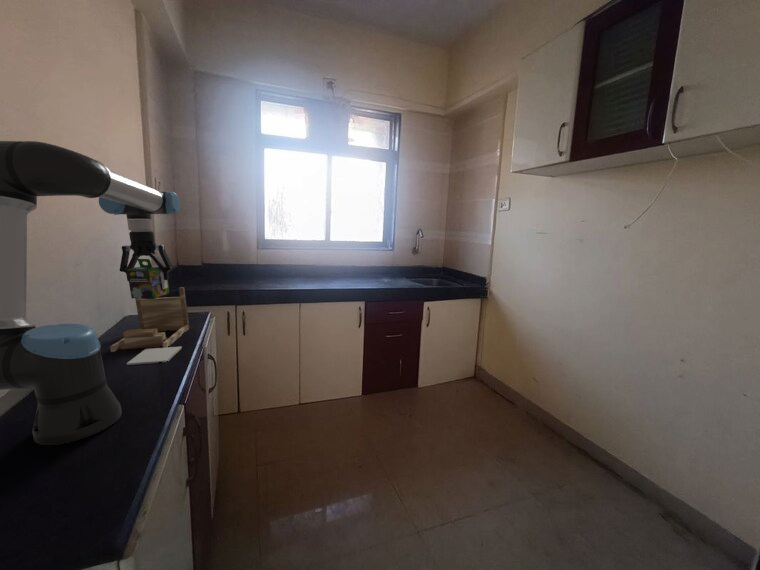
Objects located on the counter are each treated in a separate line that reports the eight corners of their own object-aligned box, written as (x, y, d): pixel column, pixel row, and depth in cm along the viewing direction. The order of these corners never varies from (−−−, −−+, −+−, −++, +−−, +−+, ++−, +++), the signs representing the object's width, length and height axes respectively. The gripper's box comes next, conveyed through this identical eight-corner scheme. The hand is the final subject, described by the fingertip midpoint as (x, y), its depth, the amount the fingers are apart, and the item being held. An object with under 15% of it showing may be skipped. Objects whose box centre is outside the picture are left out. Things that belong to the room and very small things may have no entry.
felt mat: (167, 362, 109) (167, 360, 109) (126, 365, 107) (126, 363, 107) (181, 348, 121) (181, 346, 121) (145, 350, 119) (145, 348, 119)
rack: (166, 348, 121) (159, 300, 117) (110, 351, 118) (101, 302, 114) (189, 328, 142) (184, 287, 138) (142, 331, 139) (135, 289, 135)
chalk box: (170, 294, 133) (165, 257, 131) (153, 299, 124) (147, 260, 122) (148, 293, 134) (143, 256, 131) (130, 298, 125) (124, 259, 122)
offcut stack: (162, 346, 122) (160, 331, 121) (120, 349, 120) (117, 333, 119) (168, 342, 127) (166, 327, 126) (127, 344, 124) (124, 329, 123)
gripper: (178, 230, 130) (185, 285, 134) (113, 231, 126) (122, 288, 130) (170, 230, 123) (177, 289, 127) (100, 231, 119) (111, 292, 123)
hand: (149, 288), depth 129 cm, fingers closed on chalk box, 10 cm apart
